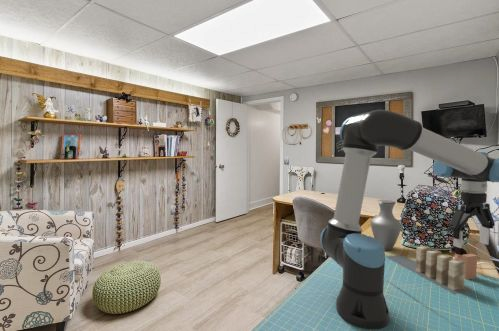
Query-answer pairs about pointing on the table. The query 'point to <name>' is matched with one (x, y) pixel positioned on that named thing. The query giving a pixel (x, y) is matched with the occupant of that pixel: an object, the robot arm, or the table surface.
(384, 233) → the vase
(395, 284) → the table surface
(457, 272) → the domino
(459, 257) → the grandmother figurine
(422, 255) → the domino
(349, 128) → the robot arm
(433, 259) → the domino
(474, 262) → the domino
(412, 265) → the domino board
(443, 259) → the domino
